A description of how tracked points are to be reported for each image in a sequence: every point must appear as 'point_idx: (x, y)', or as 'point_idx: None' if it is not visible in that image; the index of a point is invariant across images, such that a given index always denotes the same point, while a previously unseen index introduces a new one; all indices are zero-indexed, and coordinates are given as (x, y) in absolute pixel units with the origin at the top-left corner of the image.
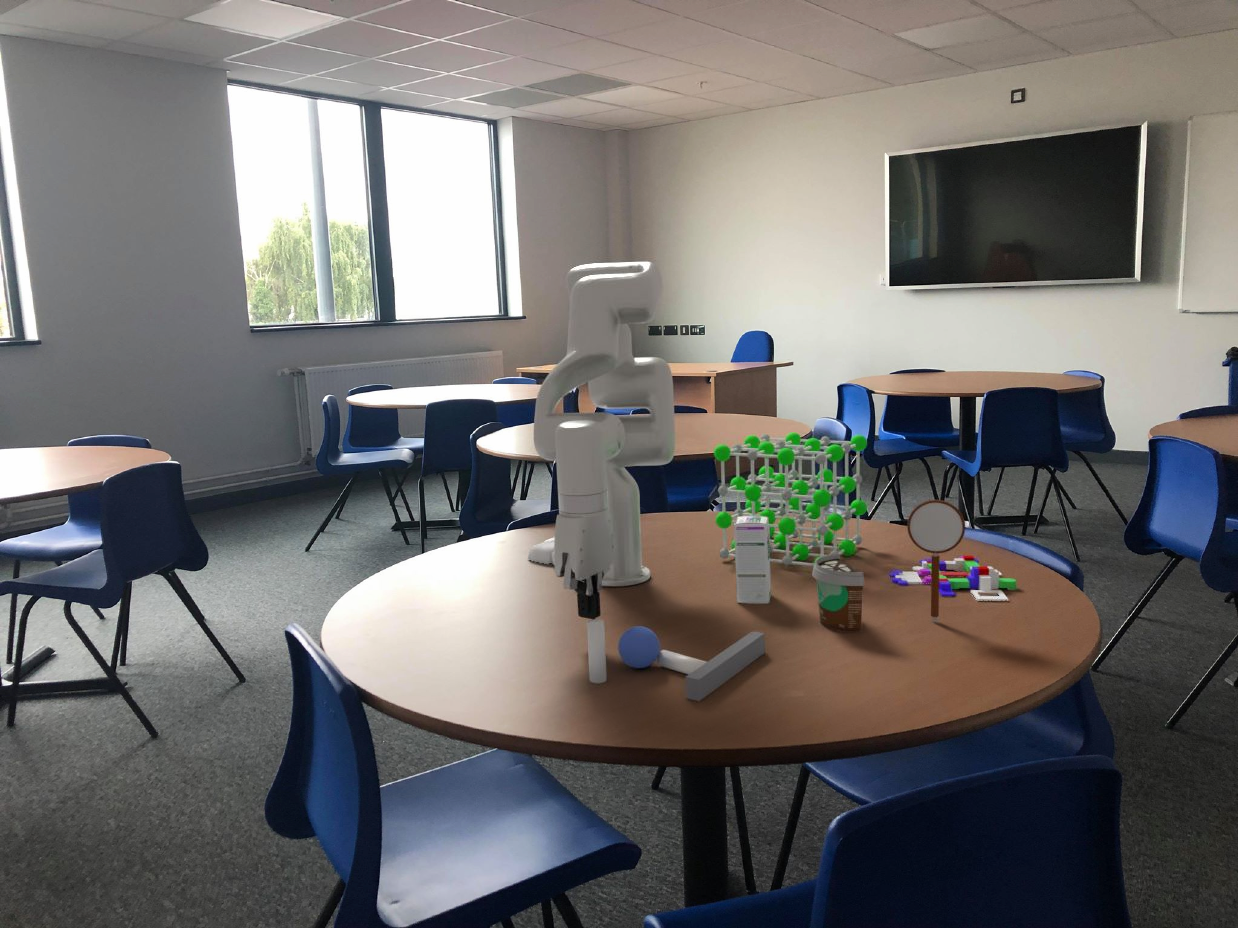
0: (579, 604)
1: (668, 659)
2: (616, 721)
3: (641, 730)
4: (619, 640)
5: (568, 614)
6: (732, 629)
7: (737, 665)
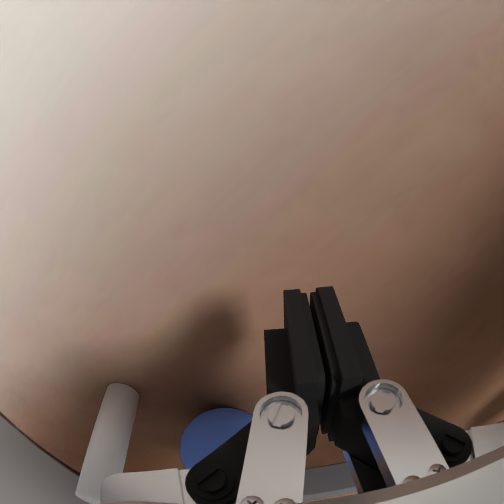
0: (265, 359)
1: None
2: (72, 445)
3: None
4: (195, 448)
5: (472, 25)
6: (459, 400)
7: None
